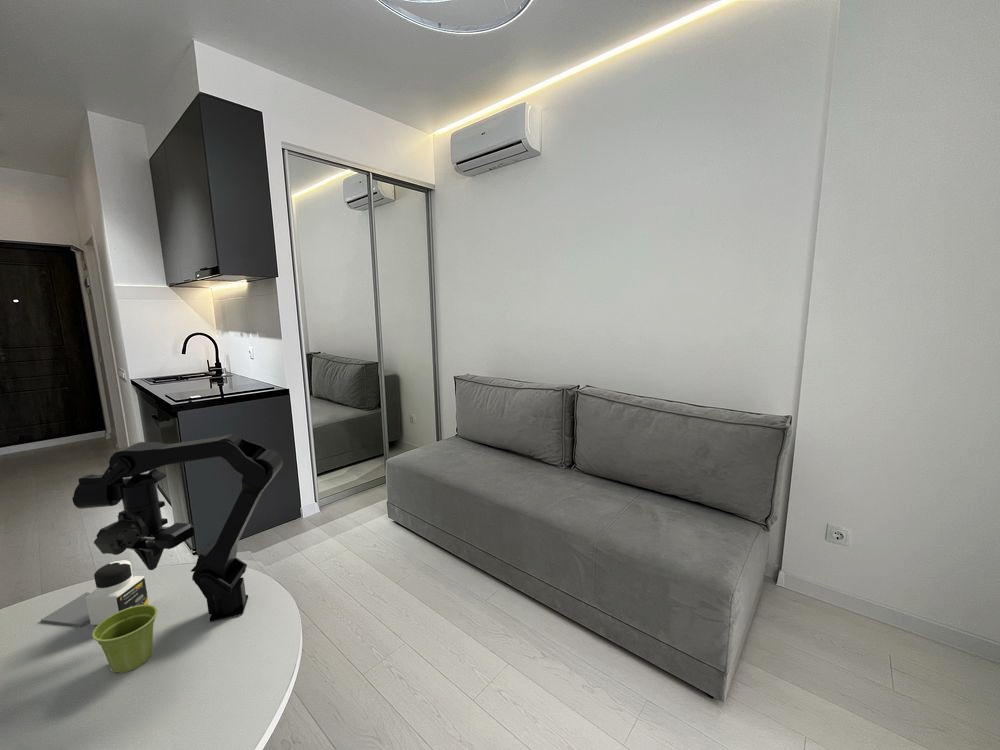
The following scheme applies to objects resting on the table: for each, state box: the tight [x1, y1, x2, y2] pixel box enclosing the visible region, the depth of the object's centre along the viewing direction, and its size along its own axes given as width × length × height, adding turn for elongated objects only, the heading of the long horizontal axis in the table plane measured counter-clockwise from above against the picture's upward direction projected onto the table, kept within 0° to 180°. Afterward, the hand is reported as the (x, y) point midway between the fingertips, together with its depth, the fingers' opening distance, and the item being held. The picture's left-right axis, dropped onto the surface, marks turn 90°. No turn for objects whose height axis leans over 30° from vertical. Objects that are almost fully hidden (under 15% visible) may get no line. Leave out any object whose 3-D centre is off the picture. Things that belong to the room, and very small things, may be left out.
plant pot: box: [91, 604, 158, 674], centre depth 81 cm, size 9×9×9 cm
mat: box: [40, 592, 91, 628], centre depth 95 cm, size 11×9×1 cm
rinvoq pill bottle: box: [86, 559, 149, 626], centre depth 93 cm, size 7×7×12 cm
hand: (152, 568), depth 90 cm, fingers closed
